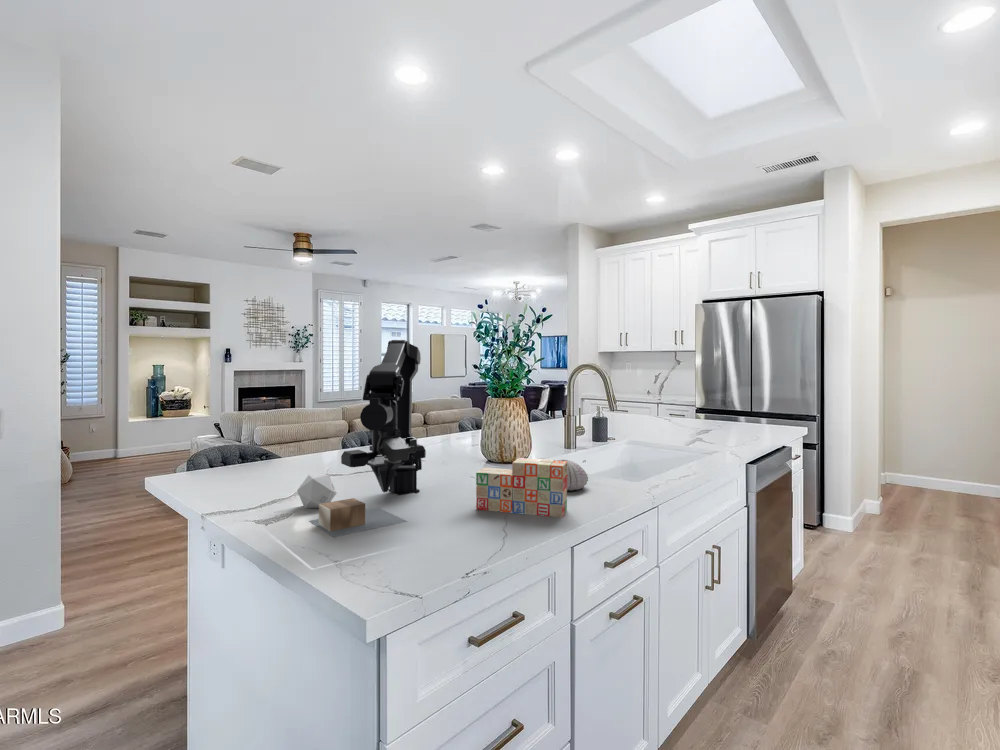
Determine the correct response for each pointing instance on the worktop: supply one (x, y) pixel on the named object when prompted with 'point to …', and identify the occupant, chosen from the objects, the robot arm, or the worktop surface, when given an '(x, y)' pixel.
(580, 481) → the sea urchin shell
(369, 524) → the rubber mat
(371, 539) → the worktop surface
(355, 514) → the wooden block
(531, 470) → the stack of blocks
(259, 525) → the worktop surface
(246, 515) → the worktop surface
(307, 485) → the die
